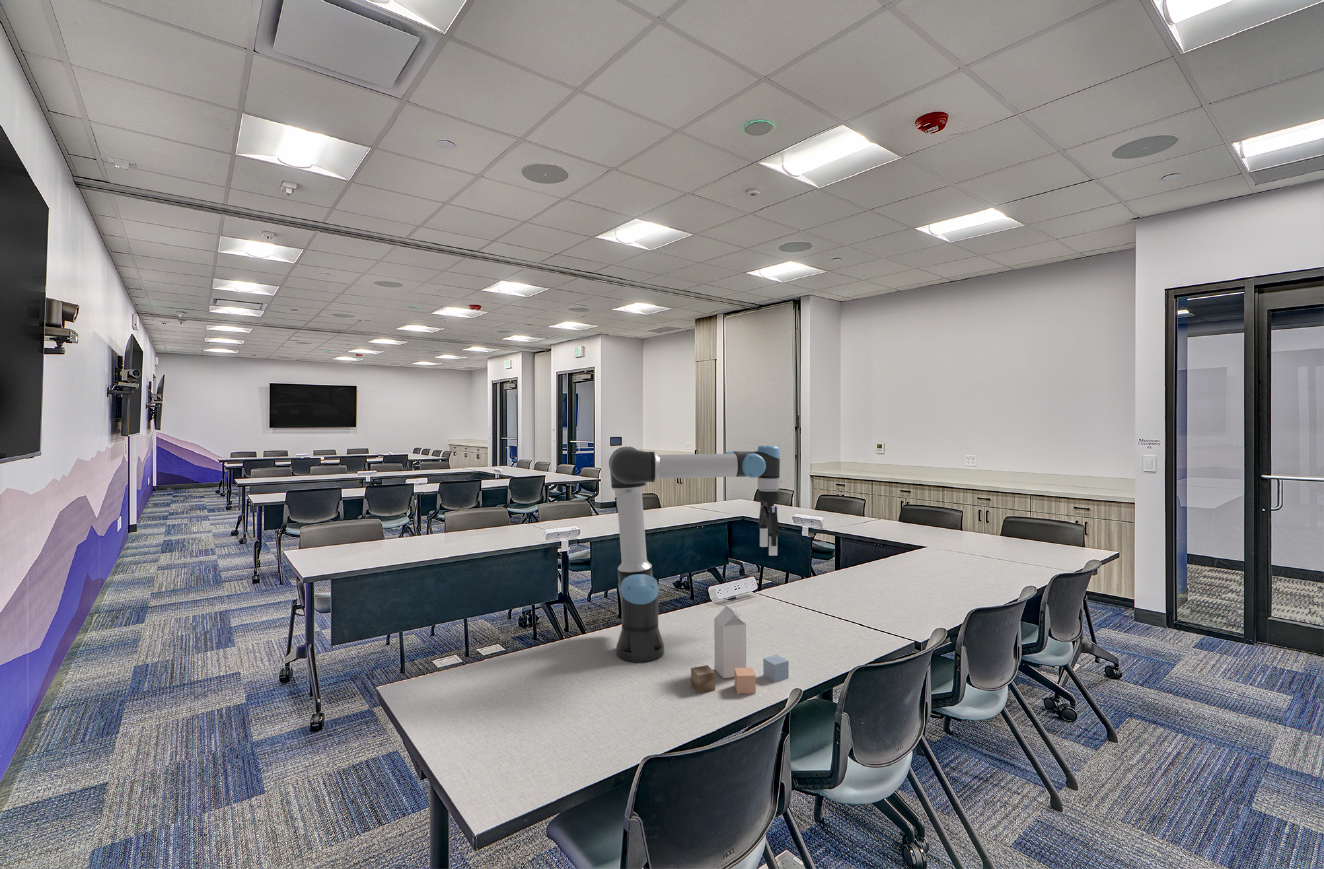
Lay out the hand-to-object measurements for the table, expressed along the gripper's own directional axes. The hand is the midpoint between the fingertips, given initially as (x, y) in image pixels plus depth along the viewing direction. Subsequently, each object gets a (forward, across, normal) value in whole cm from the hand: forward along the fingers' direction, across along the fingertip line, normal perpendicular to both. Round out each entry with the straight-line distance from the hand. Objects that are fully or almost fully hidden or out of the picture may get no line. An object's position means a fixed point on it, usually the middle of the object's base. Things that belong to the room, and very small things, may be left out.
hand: (768, 551), depth 201 cm
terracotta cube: (+28, -44, +17) cm, 55 cm away
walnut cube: (+28, -42, +28) cm, 58 cm away
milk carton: (+28, -33, +19) cm, 47 cm away
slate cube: (+28, -36, +6) cm, 46 cm away
